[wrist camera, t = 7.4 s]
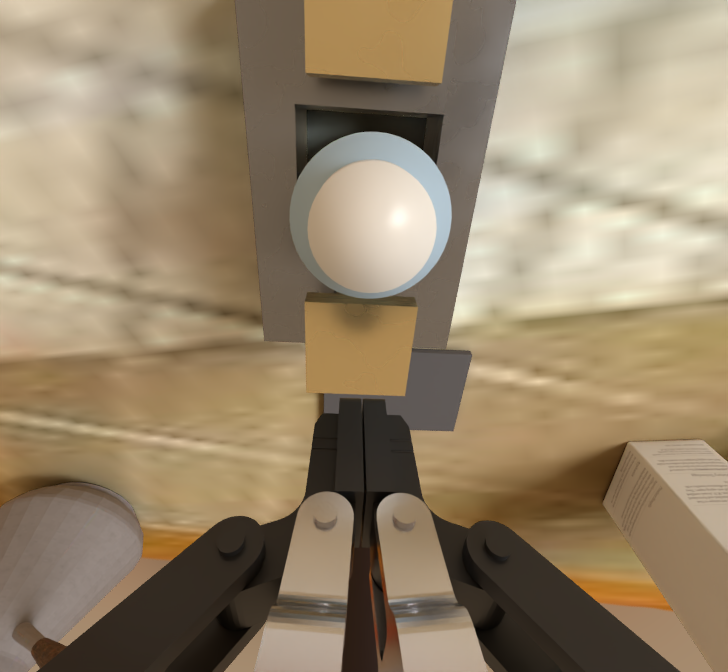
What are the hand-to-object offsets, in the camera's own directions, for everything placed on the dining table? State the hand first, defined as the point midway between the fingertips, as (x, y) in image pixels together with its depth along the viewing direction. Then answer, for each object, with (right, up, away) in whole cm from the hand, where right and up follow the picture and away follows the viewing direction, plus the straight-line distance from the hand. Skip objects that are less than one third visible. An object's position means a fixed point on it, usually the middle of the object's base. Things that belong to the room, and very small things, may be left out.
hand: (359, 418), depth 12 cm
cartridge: (0, +11, +7) cm, 13 cm away
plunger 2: (0, +4, +7) cm, 9 cm away
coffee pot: (-20, -10, +19) cm, 30 cm away
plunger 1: (+1, +16, +3) cm, 16 cm away
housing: (0, +11, +7) cm, 13 cm away
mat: (+2, -1, +14) cm, 14 cm away
